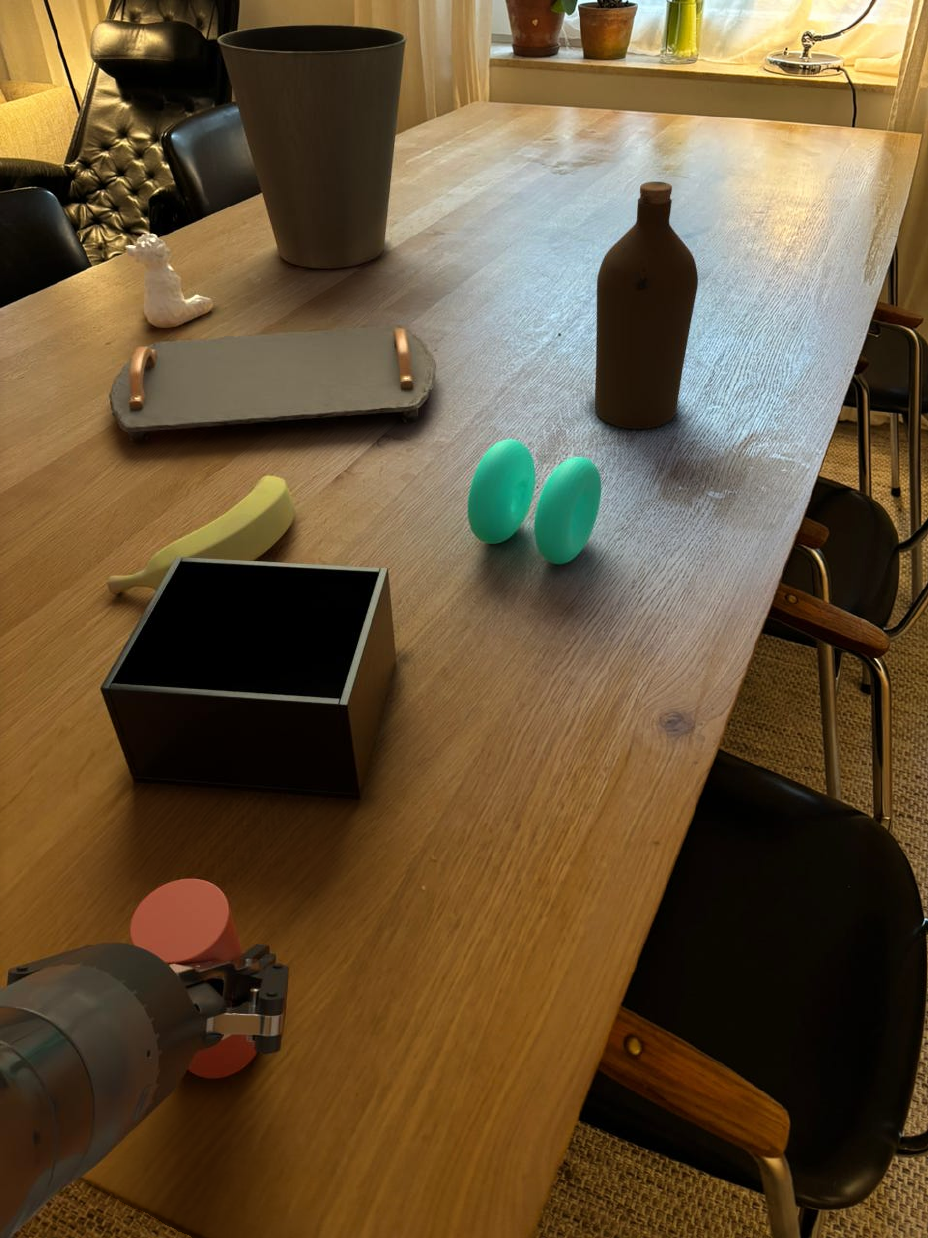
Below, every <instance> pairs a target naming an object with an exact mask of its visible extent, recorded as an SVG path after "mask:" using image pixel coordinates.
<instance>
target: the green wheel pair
mask: <svg viewBox="0 0 928 1238" xmlns="http://www.w3.org/2000/svg"><path fill="white" fill-rule="evenodd" d="M535 488H536V466H535V461H534V458H533V456H532V454H531V452H530V450H529V449H528V447H527V446H526V445H525V444H524V443H522V442H520V440H519V441H518V440H517V439H511V438H509V439H503V440H499V441H498V442H495V444H493V445H491V446H490V448H489V449H488V450H486V452H485V454H484V455H483V456H482V458H481V459H480V461H479V463H478V465H477V467H476V469H475V471H474V474H473V477H472V480H471V483H470V488H469V492H468V497H467V519H468V523H469V528H470V530H471V531H472V533H473V535H474V536H475V537H476V539H478V540H479V541H481V542H482V543H485V544H488V545H489V544H491V545H495V544H500V543H503V542H505V541H507V540H509V539H510V538H511V537H512V536H513V535H515V533H516V532H517V531H518V530H519V529H520V527H521V526H522V525H523V523H524V521H525V519H526V517H527V516H528V514H529V511H530V509H531V505H532V501H533V500H534V499H533V498H534V494H535ZM601 497H602V480H601V474H600V472H599V469H598V468H597V466H596V464H595V463H594V462H593V461H592V460H590V459H589V458H587V457H583V456H573V457H570V458H568V459H566V460H564V461H563V462H561V463H560V464H558V466H556V468H554V469H553V471H552V472H551V474H550V475H549V477H548V478H547V480H546V482H545V484H544V485H543V488H542V490H541V493H540V496H539V497H538V502H537V505H536V510H535V515H534V521H533V522H534V523H533V524H534V525H533V526H534V527H533V528H534V530H533V532H534V539H535V544H536V548H537V549H538V551H539V553H540V554H541V556H542V557H543V558H544V559H545V560H546V561H547V562H549V563H551V564H554V565H565V564H568V563H570V562H572V561H573V560H574V559H576V558H577V557H578V555H579V554H580V553H581V552H582V550H583V549H584V548H585V546H586V545H587V542H588V540H589V539H590V536H591V534H592V532H593V530H594V526H595V524H596V521H597V517H598V514H599V509H600V503H601V499H602V498H601Z"/></svg>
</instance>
